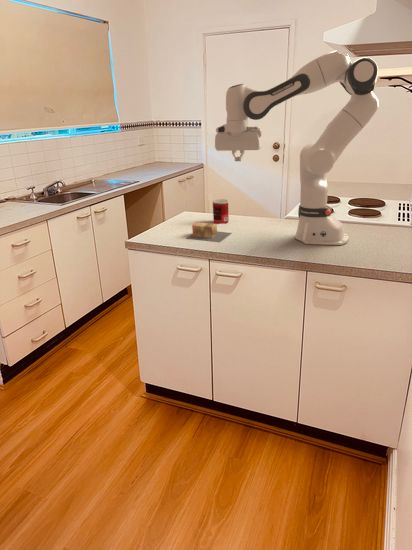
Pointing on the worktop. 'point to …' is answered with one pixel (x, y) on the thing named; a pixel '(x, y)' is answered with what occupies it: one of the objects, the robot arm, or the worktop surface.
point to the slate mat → (217, 238)
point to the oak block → (204, 230)
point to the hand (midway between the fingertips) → (238, 161)
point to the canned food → (220, 211)
